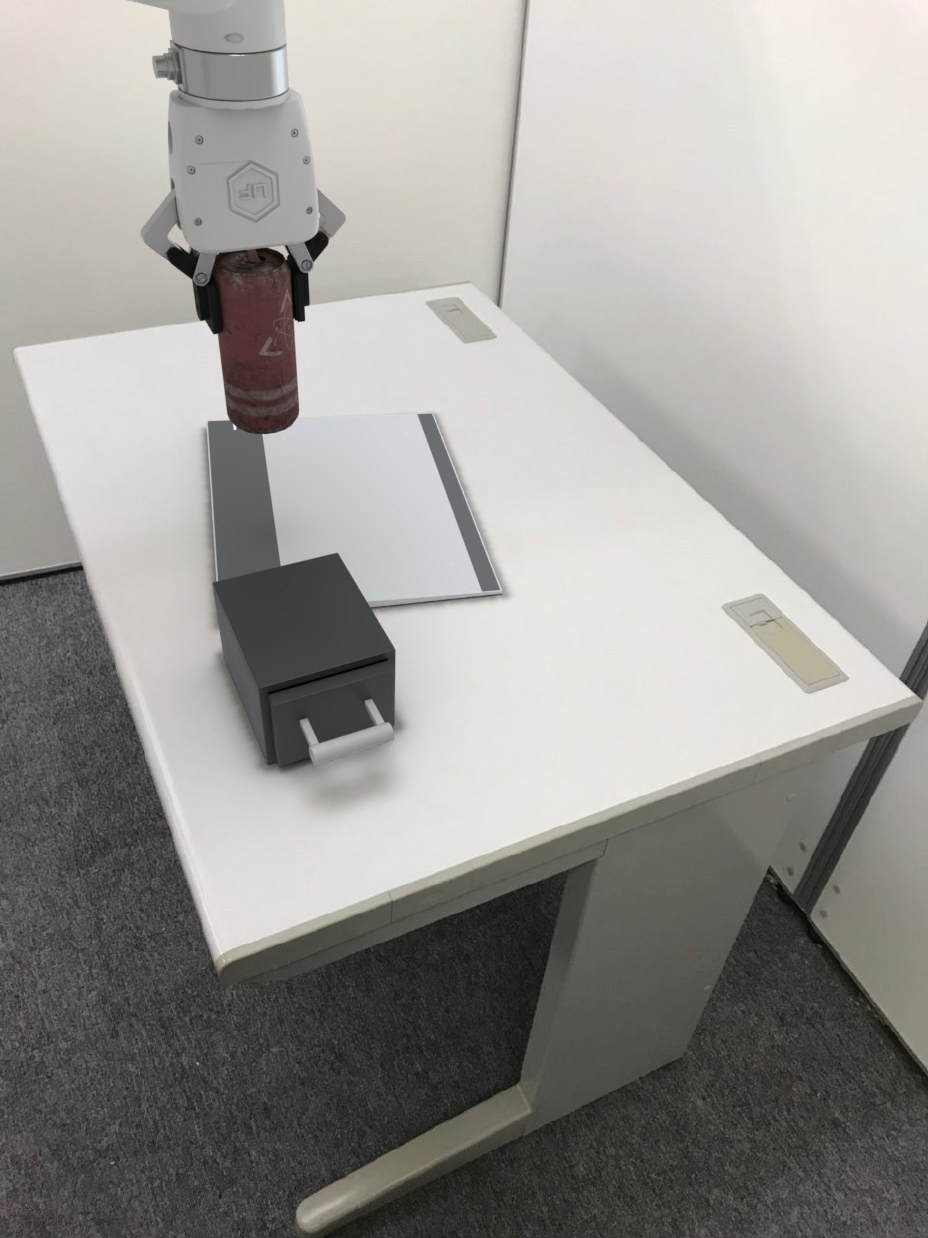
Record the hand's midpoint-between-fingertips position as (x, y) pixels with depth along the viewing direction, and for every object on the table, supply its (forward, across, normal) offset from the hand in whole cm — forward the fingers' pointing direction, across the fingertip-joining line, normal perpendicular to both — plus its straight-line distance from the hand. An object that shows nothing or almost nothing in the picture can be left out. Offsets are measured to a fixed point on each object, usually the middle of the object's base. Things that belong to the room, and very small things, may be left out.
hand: (254, 318), depth 78 cm
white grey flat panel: (+23, +8, +3) cm, 24 cm away
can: (+9, 0, 0) cm, 9 cm away
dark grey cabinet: (+23, -4, -20) cm, 30 cm away
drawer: (+22, -4, -23) cm, 32 cm away
